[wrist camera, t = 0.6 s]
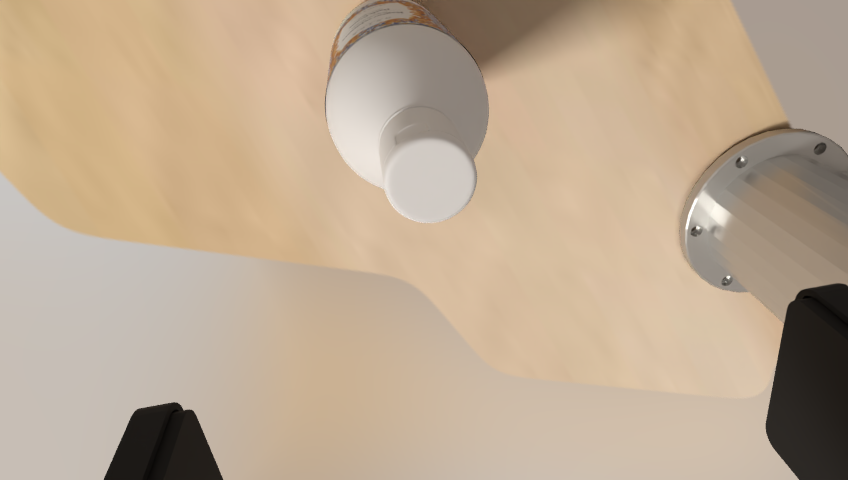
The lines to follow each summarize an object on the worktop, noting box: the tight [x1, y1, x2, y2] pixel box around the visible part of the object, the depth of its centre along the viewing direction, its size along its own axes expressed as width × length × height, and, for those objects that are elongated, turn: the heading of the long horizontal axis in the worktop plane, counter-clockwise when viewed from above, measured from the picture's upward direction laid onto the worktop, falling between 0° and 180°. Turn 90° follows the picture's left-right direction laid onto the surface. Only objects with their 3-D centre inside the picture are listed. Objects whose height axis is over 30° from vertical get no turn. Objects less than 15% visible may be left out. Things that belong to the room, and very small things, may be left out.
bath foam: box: [325, 0, 489, 223], centre depth 27 cm, size 7×7×20 cm
